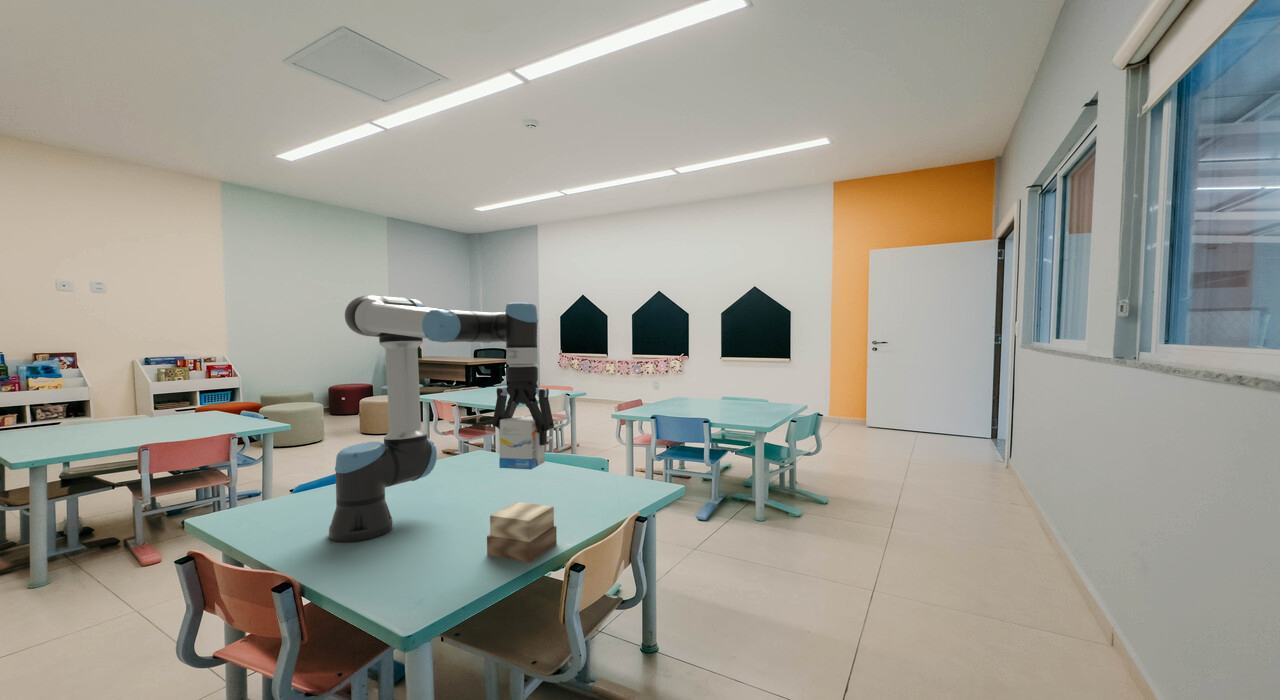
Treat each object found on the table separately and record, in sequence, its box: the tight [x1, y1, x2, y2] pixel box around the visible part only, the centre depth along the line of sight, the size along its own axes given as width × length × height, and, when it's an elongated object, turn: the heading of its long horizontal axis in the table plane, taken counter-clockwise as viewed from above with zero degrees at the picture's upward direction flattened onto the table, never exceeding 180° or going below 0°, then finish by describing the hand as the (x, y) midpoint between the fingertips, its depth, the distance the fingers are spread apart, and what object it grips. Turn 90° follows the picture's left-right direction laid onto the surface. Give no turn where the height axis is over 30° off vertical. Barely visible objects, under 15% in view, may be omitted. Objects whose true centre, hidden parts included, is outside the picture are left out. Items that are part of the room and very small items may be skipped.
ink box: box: [498, 415, 546, 471], centre depth 125 cm, size 9×8×12 cm
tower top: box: [489, 501, 555, 542], centre depth 125 cm, size 11×11×5 cm
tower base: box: [486, 525, 558, 564], centre depth 126 cm, size 12×12×5 cm
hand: (523, 456), depth 125 cm, fingers closed on ink box, 9 cm apart
